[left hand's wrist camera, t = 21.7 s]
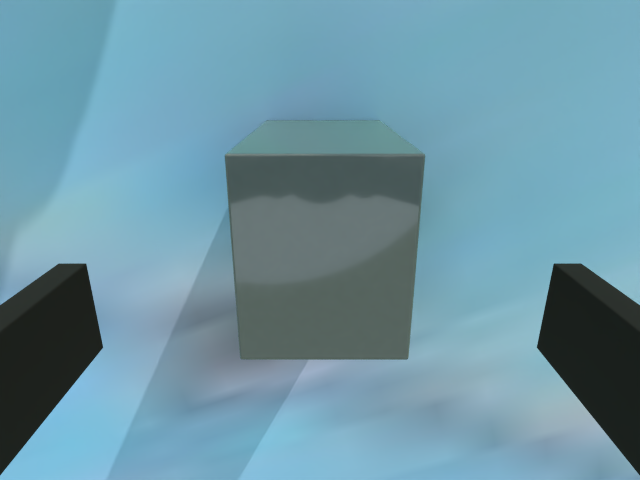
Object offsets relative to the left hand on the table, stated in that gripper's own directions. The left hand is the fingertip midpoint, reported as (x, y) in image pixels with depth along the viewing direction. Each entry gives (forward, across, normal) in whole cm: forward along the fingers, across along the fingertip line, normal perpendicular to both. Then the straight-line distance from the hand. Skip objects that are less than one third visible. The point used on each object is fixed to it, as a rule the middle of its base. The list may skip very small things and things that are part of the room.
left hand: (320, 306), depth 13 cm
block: (+14, 0, 0) cm, 14 cm away
